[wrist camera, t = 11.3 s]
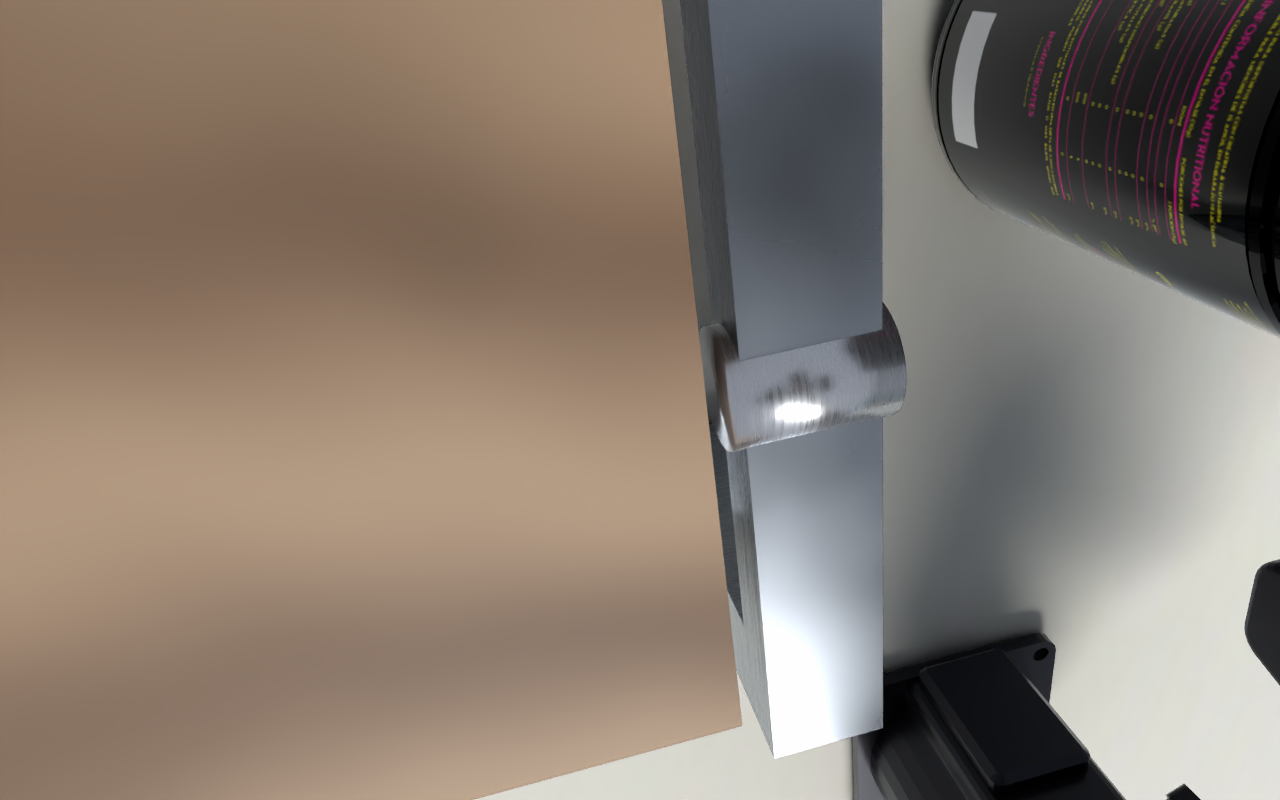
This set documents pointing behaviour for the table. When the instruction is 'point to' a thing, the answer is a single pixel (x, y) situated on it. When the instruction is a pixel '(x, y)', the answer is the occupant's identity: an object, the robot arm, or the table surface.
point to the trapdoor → (347, 401)
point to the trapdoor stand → (797, 349)
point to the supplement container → (1126, 134)
